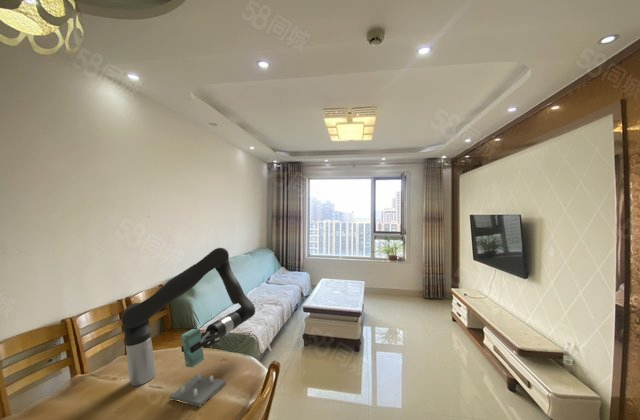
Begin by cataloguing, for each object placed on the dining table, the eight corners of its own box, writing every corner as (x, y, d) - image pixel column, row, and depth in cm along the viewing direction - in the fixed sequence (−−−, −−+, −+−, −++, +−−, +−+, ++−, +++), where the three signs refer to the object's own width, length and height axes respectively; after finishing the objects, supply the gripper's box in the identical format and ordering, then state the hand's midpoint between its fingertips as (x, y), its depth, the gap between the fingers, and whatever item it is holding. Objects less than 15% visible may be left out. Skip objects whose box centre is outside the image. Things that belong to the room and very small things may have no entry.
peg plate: (170, 400, 95) (168, 389, 96) (196, 379, 107) (195, 369, 107) (200, 407, 89) (199, 396, 89) (225, 384, 100) (224, 374, 100)
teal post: (185, 366, 97) (181, 335, 97) (196, 358, 101) (192, 328, 101) (193, 367, 95) (188, 335, 95) (204, 359, 100) (199, 329, 100)
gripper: (207, 319, 114) (172, 339, 98) (231, 320, 109) (198, 341, 93) (209, 335, 114) (174, 358, 98) (234, 337, 109) (201, 361, 93)
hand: (186, 350), depth 96 cm, fingers closed on teal post, 4 cm apart
